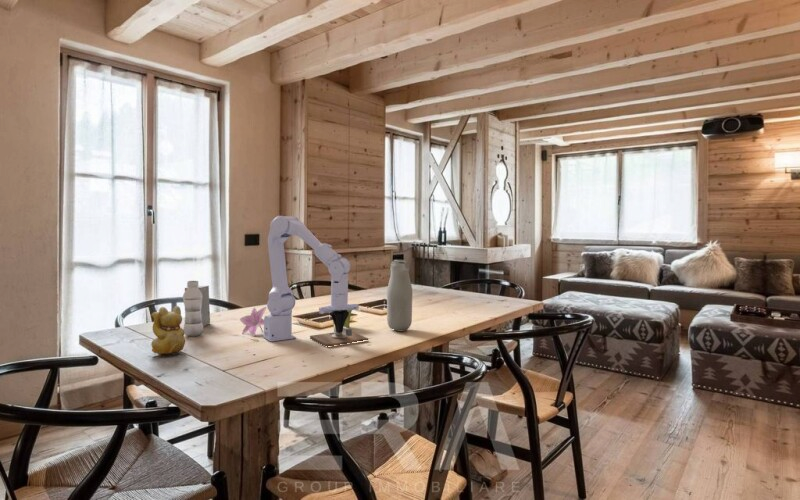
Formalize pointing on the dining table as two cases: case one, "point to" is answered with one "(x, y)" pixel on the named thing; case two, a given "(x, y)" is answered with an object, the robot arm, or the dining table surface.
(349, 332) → the gray-tipped lever post
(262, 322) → the lily
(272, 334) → the robot arm
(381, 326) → the dining table surface
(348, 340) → the brown rectangular board
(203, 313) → the skincare box
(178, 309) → the decorative figurine
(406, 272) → the grey water bottle
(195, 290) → the plastic bottle
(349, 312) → the plant pot
